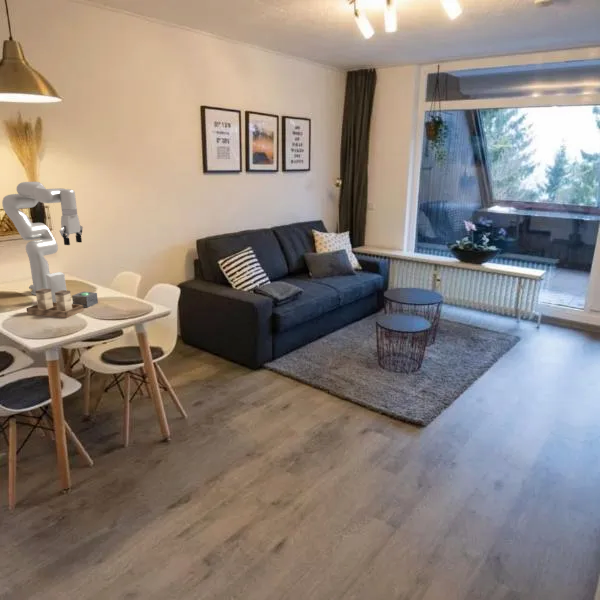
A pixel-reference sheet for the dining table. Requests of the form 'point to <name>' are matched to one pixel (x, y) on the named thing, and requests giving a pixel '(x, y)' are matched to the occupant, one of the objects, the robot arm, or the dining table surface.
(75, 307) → the tray
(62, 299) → the block
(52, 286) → the skincare box
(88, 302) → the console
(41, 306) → the block
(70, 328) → the dining table surface
